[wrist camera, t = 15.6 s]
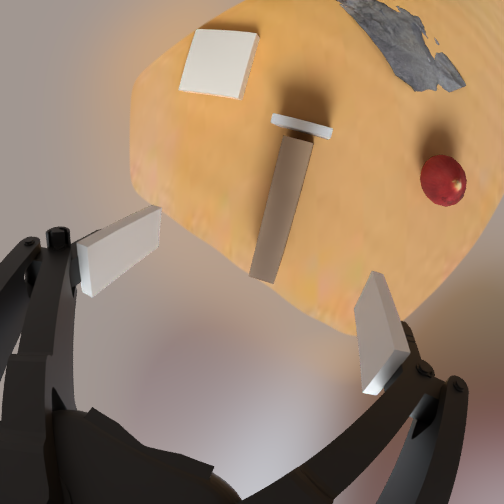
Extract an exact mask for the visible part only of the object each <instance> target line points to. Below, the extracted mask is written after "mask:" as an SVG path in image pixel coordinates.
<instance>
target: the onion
mask: <svg viewBox="0 0 504 504" xmlns="http://www.w3.org/2000/svg"><path fill="white" fill-rule="evenodd" d="M420 181H421V186H422V189H423V191H424V193H425V194H426V196H427V197H428V198H429V199H430V200H431V201H432V202H434V203H435V204H438V205H442V206H445V207H446V206H450V205H454V204H456V203H458V202H459V201H460V200H461V199H462V198H463V196H464V193H465V190H466V182H467V180H466V175H465V172H464V170H463V169H462V167H461V165H460V164H459V163H458V162H457V161H456V160H454V159H453V158H452V157H450V156H446V155H437V156H433V157H431V158H430V159H429V160H428V161H426V163H425V164H424V166H423V168H422V170H421V176H420Z"/></svg>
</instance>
